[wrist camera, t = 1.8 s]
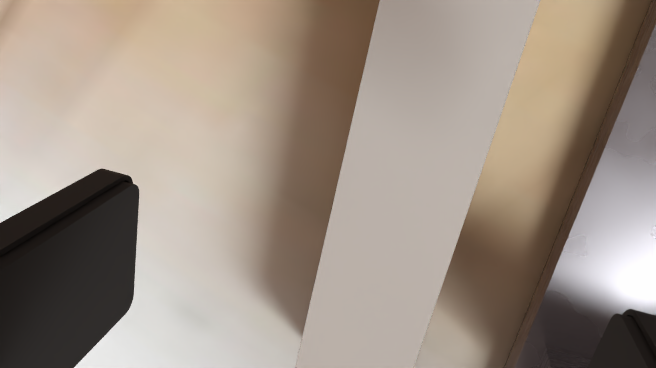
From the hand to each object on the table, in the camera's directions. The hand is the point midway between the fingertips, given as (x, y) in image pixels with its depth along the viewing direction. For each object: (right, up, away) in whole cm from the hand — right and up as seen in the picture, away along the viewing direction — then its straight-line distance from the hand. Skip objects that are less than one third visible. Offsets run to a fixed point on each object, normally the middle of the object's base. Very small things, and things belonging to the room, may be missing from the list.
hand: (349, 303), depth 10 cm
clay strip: (+3, +4, +10) cm, 12 cm away
